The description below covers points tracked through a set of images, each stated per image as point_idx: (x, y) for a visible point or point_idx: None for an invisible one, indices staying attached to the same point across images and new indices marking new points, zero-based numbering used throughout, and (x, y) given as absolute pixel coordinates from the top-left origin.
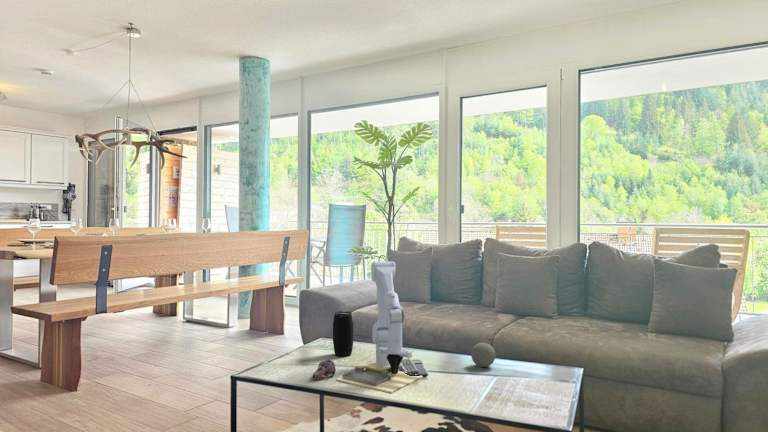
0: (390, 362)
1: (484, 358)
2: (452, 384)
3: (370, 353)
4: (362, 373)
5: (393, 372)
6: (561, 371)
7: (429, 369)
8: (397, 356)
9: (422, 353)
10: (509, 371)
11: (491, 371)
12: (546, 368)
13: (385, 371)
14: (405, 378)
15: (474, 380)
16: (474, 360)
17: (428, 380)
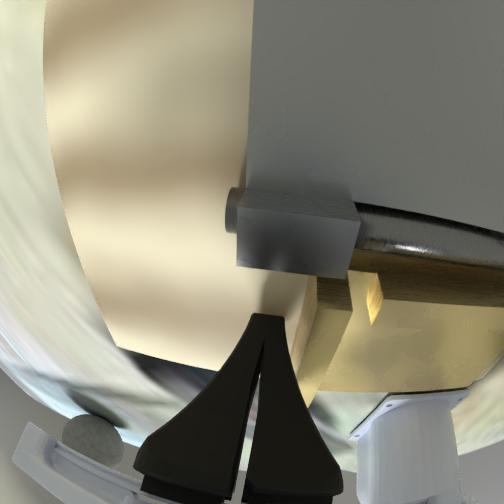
0: (282, 417)
1: (68, 427)
2: (5, 289)
3: (462, 436)
4: None
5: (265, 324)
6: (25, 388)
7: None
8: (172, 485)
9: None
10: (51, 393)
11: (65, 395)
12: (44, 400)
13: (333, 288)
14: (150, 283)
15: (19, 337)
16: (96, 431)
17: (72, 308)
